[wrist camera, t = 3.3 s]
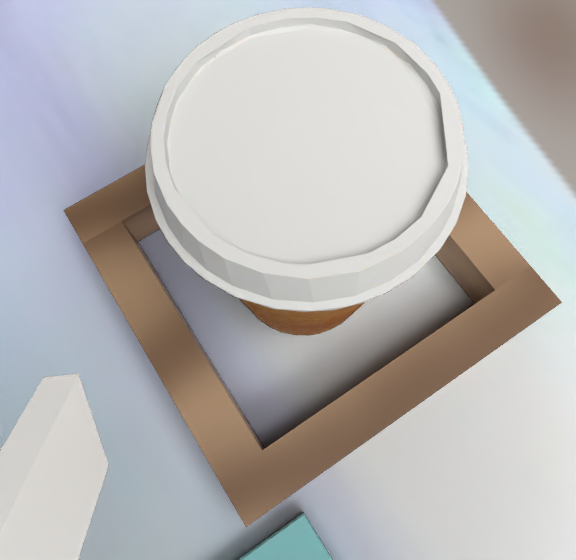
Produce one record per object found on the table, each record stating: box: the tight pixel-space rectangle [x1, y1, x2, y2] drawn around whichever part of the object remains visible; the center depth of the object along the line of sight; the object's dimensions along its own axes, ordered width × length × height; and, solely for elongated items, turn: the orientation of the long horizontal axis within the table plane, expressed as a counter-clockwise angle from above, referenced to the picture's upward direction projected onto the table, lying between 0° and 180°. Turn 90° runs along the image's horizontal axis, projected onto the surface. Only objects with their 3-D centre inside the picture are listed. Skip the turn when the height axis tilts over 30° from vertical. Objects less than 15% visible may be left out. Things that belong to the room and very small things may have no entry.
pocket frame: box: [64, 165, 562, 527], centre depth 24 cm, size 16×16×2 cm
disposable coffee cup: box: [145, 7, 468, 335], centre depth 20 cm, size 10×10×12 cm
